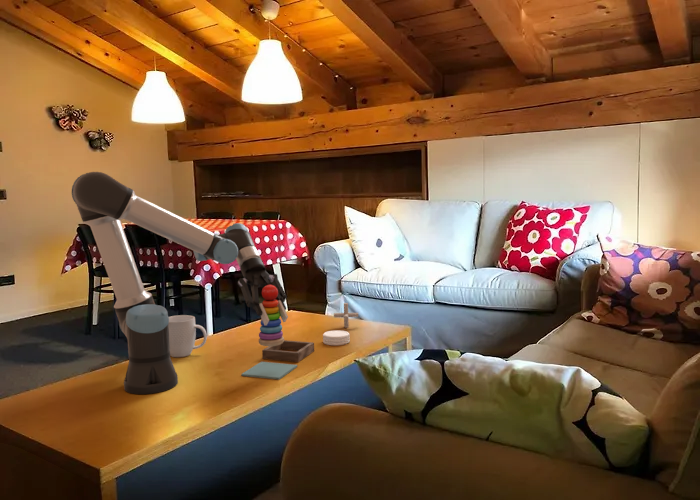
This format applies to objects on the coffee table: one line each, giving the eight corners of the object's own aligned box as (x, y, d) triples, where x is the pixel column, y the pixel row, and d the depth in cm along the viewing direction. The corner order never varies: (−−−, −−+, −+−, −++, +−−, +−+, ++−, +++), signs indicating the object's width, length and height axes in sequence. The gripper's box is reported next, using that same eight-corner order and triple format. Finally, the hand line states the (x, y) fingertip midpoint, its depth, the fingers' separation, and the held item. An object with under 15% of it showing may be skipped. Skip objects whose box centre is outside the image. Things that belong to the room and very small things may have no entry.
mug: (210, 349, 210) (209, 314, 209) (204, 358, 199) (202, 321, 198) (169, 350, 210) (167, 315, 208) (160, 359, 199) (158, 322, 197)
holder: (298, 361, 193) (298, 353, 193) (262, 358, 198) (262, 350, 197) (314, 350, 206) (314, 342, 205) (280, 348, 210) (279, 339, 210)
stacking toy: (282, 346, 180) (279, 287, 177) (256, 347, 180) (253, 288, 177) (285, 339, 187) (282, 282, 185) (261, 340, 188) (257, 283, 185)
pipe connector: (358, 330, 234) (358, 305, 233) (333, 330, 234) (333, 305, 233) (358, 324, 244) (358, 300, 243) (334, 324, 244) (334, 301, 243)
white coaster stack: (333, 337, 224) (333, 328, 224) (354, 341, 218) (354, 332, 218) (317, 343, 216) (317, 334, 215) (339, 347, 210) (339, 338, 210)
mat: (279, 379, 176) (279, 377, 176) (241, 375, 180) (241, 373, 180) (297, 366, 188) (297, 364, 188) (261, 363, 192) (261, 361, 192)
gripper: (272, 267, 199) (298, 323, 188) (220, 273, 188) (245, 333, 177) (279, 253, 194) (306, 309, 183) (226, 259, 183) (252, 319, 172)
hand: (276, 321), depth 180 cm, fingers closed on stacking toy, 6 cm apart
